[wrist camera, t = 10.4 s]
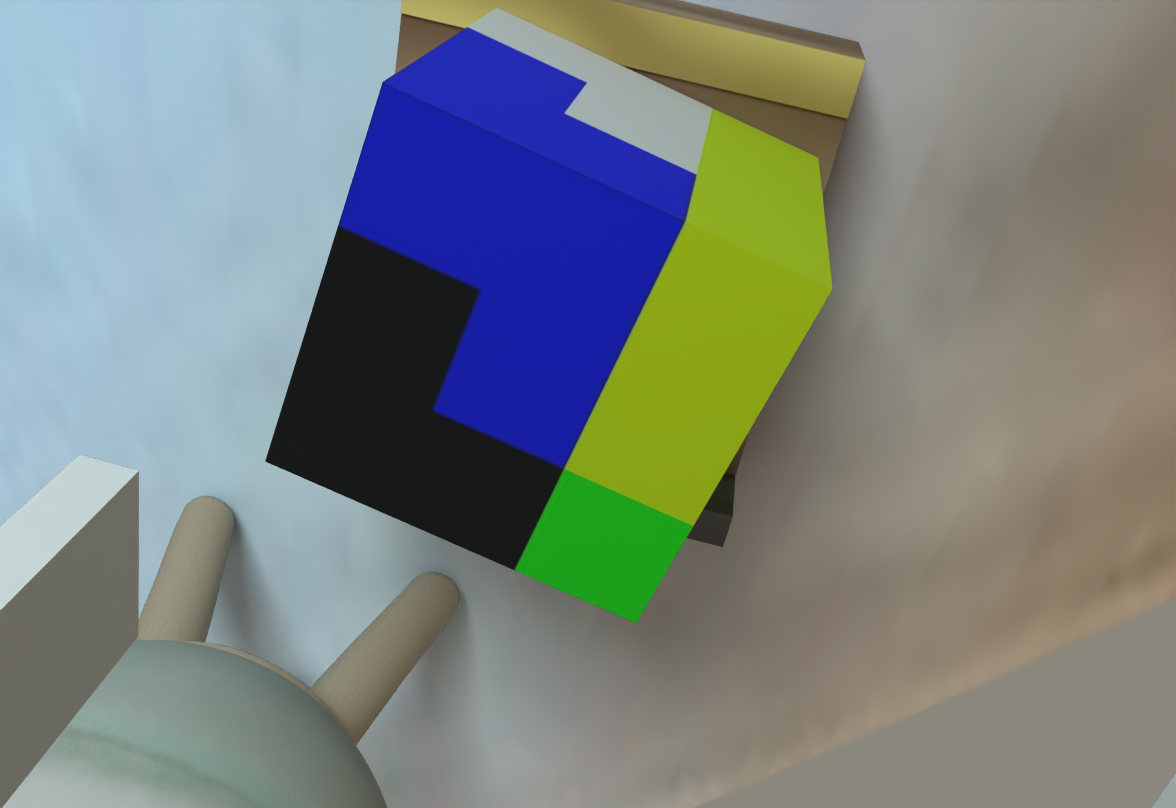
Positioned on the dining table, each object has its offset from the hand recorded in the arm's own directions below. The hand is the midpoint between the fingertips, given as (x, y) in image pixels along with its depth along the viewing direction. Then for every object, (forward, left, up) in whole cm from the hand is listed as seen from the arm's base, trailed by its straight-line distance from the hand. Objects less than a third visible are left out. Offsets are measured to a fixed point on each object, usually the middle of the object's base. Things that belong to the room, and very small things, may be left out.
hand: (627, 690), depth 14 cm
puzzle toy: (+2, -3, -21) cm, 22 cm away
